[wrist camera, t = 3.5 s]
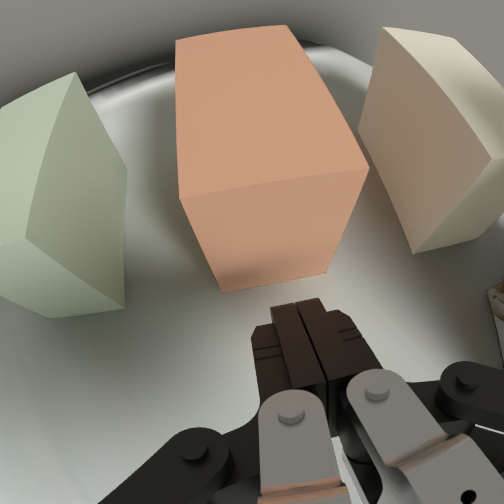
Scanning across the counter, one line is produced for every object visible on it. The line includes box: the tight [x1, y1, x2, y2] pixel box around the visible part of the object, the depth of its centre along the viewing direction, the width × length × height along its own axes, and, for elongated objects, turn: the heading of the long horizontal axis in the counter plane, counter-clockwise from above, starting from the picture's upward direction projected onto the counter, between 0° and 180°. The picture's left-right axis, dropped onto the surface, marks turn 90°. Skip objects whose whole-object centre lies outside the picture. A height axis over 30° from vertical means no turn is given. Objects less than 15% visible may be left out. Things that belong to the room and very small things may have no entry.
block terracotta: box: [175, 25, 370, 293], centre depth 13 cm, size 5×9×8 cm, turn 10°
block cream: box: [357, 27, 504, 254], centre depth 13 cm, size 5×9×8 cm, turn 10°
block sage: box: [0, 72, 127, 319], centre depth 13 cm, size 5×9×8 cm, turn 10°
